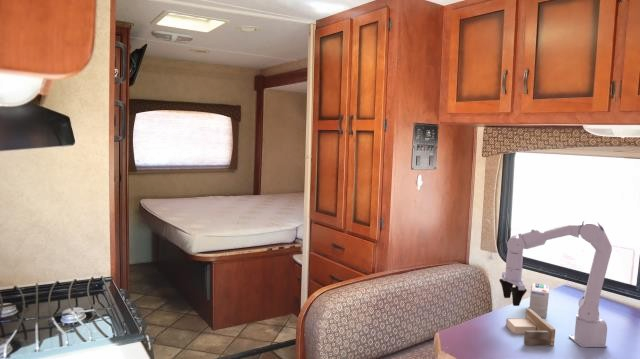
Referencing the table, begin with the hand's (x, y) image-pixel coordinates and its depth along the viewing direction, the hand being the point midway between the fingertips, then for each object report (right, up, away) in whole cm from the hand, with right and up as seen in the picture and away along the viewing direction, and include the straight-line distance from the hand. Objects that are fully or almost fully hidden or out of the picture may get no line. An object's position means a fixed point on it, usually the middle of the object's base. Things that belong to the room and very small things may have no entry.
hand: (511, 301), depth 176 cm
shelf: (+3, -11, -6) cm, 12 cm away
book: (+3, -10, -2) cm, 11 cm away
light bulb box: (+17, -9, +14) cm, 24 cm away
